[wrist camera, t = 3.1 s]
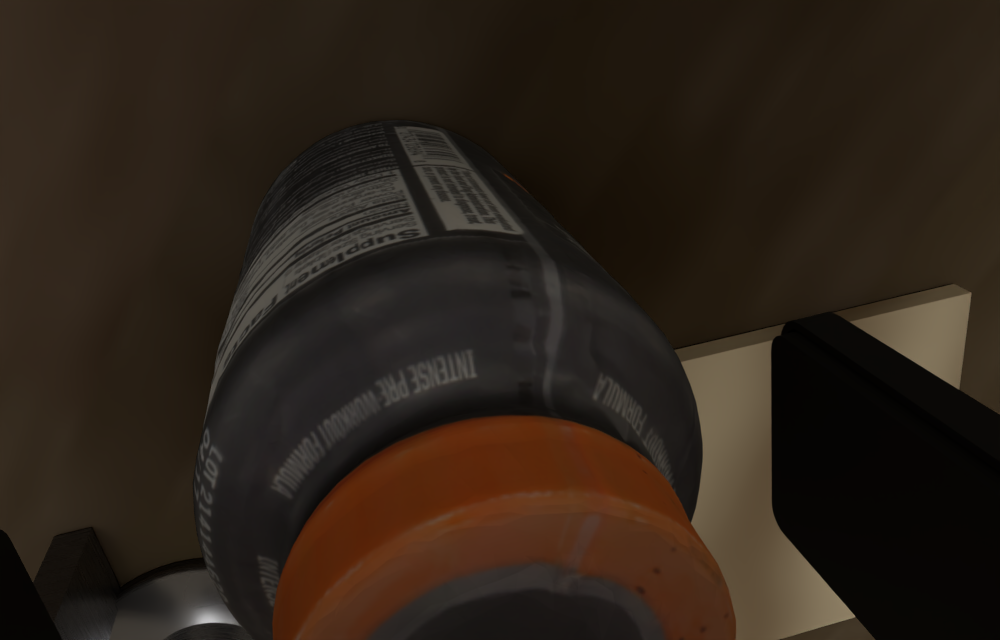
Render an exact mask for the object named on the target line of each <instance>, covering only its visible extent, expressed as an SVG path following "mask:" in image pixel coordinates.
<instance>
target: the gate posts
mask: <svg viewBox="0 0 1000 640" xmlns="http://www.w3.org/2000/svg"><path fill="white" fill-rule="evenodd" d="M33 584H34V586H35V588H36V590H37V592H38V594H39V596H40V598H41V600H42V602H43V603H44V605H45V607H46V609H47V611H48V613H49V615H50V617H51V619H52V621H53V623H54V625H55V627H56V629H57V631H58V632H59V634H60V636H61V638H62V640H254V639H253V638H252V637H251V636H250V635H249V634H248V633H247V632H246V630H245V629H244V628H243V627H242V626H241V625H240V624H239V623H238V622H237V620H236V619H235V618H234V617H233V615H232V614H231V613H230V611H229V610H228V608H227V606H226V605H225V603H224V602H223V600H222V598H221V596H220V594H219V592H218V590H217V588H216V586H215V584H214V583H213V581H212V579H211V577H210V575H209V572H208V570H207V567H206V564H205V561H204V558H203V559H193V560H188V561H183V562H178V563H174V564H170V565H167V566H164V567H161V568H158V569H155V570H153V571H151V572H148V573H146V574H143V575H141V576H140V577H138V578H136V579H134V580H133V581H131V582H129V583H127V584H126V585H125V586H123V587H122V588H121V589H120V587H119V585H118V582H117V580H116V578H115V576H114V574H113V572H112V570H111V568H110V565H109V563H108V561H107V559H106V557H105V555H104V553H103V551H102V549H101V546H100V544H99V542H98V540H97V538H96V536H95V534H94V532H93V529H92V528H88V529H84V530H80V531H76V532H71V533H67V534H63V535H59V536H55V537H54V538H53V540H52V543H51V545H50V547H49V549H48V551H47V553H46V556H45V558H44V560H43V562H42V564H41V567H40V569H39V571H38V573H37V575H36V577H35V580H34V582H33Z"/></svg>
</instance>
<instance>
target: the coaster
mask: <svg viewBox="0 0 1000 640" xmlns="http://www.w3.org/2000/svg"><path fill="white" fill-rule="evenodd" d="M970 301H971V292H969V291H967V290H965V289H963V288H961V287H959V286H957V285H955V284H951V285H947V286H943V287H938V288H934V289H930V290H926V291H922V292H917V293H913V294H909V295H905V296H900V297H896V298H892V299H888V300H884V301H879V302H875V303H871V304H867V305H862V306H858V307H854V308H850V309H845V310H841V311H837V312H833V313H835V314H837V315H839V316H841V317H842V318H844V319H845V320H847V321H849V322H850V323H852V324H854V325H855V326H857V327H858V328H860V329H862V330H863V331H865V332H866V333H868V334H870V335H871V336H873V337H875V338H876V339H878V340H879V341H881V342H883V343H884V344H886V345H887V346H889V347H891V348H892V349H894V350H896V351H897V352H899V353H900V354H902V355H904V356H905V357H907V358H909V359H910V360H912V361H913V362H915V363H917V364H918V365H920V366H921V367H923V368H925V369H926V370H928V371H930V372H931V373H933V374H934V375H936V376H938V377H939V378H941V379H942V380H944V381H946V382H947V383H949V384H951V385H952V386H954V387H955V388H957V389H959V386H960V379H961V371H962V363H963V355H964V348H965V340H966V332H967V324H968V316H969V309H970ZM784 325H785V324H782V325H778V326H774V327H769V328H765V329H761V330H757V331H752V332H748V333H744V334H740V335H736V336H731V337H727V338H723V339H719V340H714V341H710V342H706V343H702V344H698V345H693V346H689V347H685V348H681V349H676V350H674V351H675V352H676V354H677V356H678V357H679V359H680V361H681V363H682V366H683V368H684V370H685V373H686V375H687V378H688V380H689V382H690V385H691V388H692V391H693V394H694V397H695V400H696V404H697V409H698V415H699V420H700V426H701V434H702V442H703V462H702V471H701V480H700V488H699V494H698V499H697V505H696V509H695V512H694V515H693V518H692V522H691V524H692V526H693V527H694V529H695V531H696V532H697V534H698V535H699V537H700V538H701V540H702V541H703V543H704V544H705V546H706V547H707V549H708V550H709V551H710V553H711V554H712V556H713V557H714V559H715V560H716V562H717V563H718V565H719V568H720V570H721V572H722V575H723V577H724V579H725V582H726V584H727V586H728V588H729V592H730V596H731V601H732V605H733V609H734V613H735V617H736V638H735V640H779V639H782V638H785V637H789V636H792V635H796V634H799V633H803V632H806V631H809V630H813V629H816V628H820V627H823V626H827V625H830V624H833V623H837V622H840V621H844V620H847V619H851V618H854V617H855V615H854V614H853V613H852V612H851V611H850V610H849V608H848V607H847V606H846V605H845V604H844V603H843V602H842V600H841V599H840V598H839V597H838V596H837V595H836V594H835V592H834V591H833V590H832V589H831V588H830V587H829V585H828V584H827V583H826V582H825V581H824V580H823V579H822V577H821V576H820V575H819V574H818V573H817V572H816V571H815V569H814V568H813V567H812V566H811V565H810V564H809V563H808V561H807V560H806V559H805V558H804V557H803V556H802V554H801V553H800V552H799V551H798V550H797V549H796V548H795V546H794V545H793V544H792V543H791V542H790V541H789V540H788V538H787V537H786V536H785V535H784V534H783V532H782V531H781V530H780V528H779V526H778V524H777V522H776V520H775V517H774V514H773V510H772V450H771V345H772V341H773V339H774V338H775V337H776V336H779V335H781V331H782V329H783V326H784Z"/></svg>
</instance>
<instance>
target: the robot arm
mask: <svg viewBox="0 0 1000 640" xmlns="http://www.w3.org/2000/svg"><path fill="white" fill-rule="evenodd" d="M771 450H772V510H773V514H774V517H775V520H776V522H777V524H778V526H779V528H780V530H781V531H782V532H783V534H784V535H785V536H786V537H787V538H788V540H789V541H790V542H791V543H792V544H793V545H794V546H795V548H796V549H797V550H798V551H799V552H800V553H801V554H802V556H803V557H804V558H805V559H806V560H807V561H808V563H809V564H810V565H811V566H812V567H813V568H814V569H815V571H816V572H817V573H818V574H819V575H820V576H821V577H822V579H823V580H824V581H825V582H826V583H827V584H828V585H829V587H830V588H831V589H832V590H833V591H834V592H835V594H836V595H837V596H838V597H839V598H840V599H841V600H842V602H843V603H844V604H845V605H846V606H847V607H848V608H849V610H850V611H851V612H852V613H853V614H854V615H855V617H856V618H857V619H858V620H859V621H860V622H861V623H862V625H863V626H864V627H865V628H866V629H867V630H868V631H869V633H870V634H871V635H872V636H873V637H874V638H875V639H876V640H1000V415H999V414H997V413H996V412H994V411H993V410H991V409H989V408H988V407H986V406H985V405H983V404H981V403H980V402H978V401H976V400H975V399H973V398H972V397H970V396H968V395H967V394H965V393H964V392H962V391H960V390H959V389H957V388H955V387H954V386H952V385H951V384H949V383H947V382H946V381H944V380H942V379H941V378H939V377H938V376H936V375H934V374H933V373H931V372H930V371H928V370H926V369H925V368H923V367H921V366H920V365H918V364H917V363H915V362H913V361H912V360H910V359H909V358H907V357H905V356H904V355H902V354H900V353H899V352H897V351H896V350H894V349H892V348H891V347H889V346H887V345H886V344H884V343H883V342H881V341H879V340H878V339H876V338H875V337H873V336H871V335H870V334H868V333H866V332H865V331H863V330H862V329H860V328H858V327H857V326H855V325H854V324H852V323H850V322H849V321H847V320H845V319H844V318H842V317H841V316H839V315H837V314H835V313H832V312H827V313H822V314H818V315H814V316H810V317H806V318H802V319H798V320H794V321H790V322H787V323H786V324H785V325H784V326H783V329H782V331H781V335H779V336H776V337H775V338H774V339H773V341H772V345H771ZM0 640H62V638H61V636H60V634H59V632H58V631H57V629H56V627H55V625H54V623H53V621H52V619H51V617H50V615H49V613H48V611H47V609H46V607H45V605H44V603H43V602H42V600H41V598H40V596H39V594H38V592H37V590H36V588H35V586H34V584H33V582H32V580H31V578H30V576H29V574H28V573H27V571H26V569H25V567H24V565H23V563H22V561H21V559H20V557H19V555H18V553H17V551H16V549H15V547H14V546H13V544H12V542H11V540H10V538H9V537H8V535H7V534H6V533H5V532H4V531H3V530H0Z"/></svg>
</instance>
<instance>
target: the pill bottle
mask: <svg viewBox="0 0 1000 640" xmlns="http://www.w3.org/2000/svg"><path fill="white" fill-rule="evenodd" d="M702 462H703V442H702V434H701V426H700V420H699V415H698V409H697V404H696V400H695V397H694V394H693V391H692V388H691V385H690V382H689V380H688V378H687V375H686V373H685V370H684V368H683V366H682V363H681V361H680V359H679V357H678V356H677V354H676V352H675V351H674V349H673V348H672V346H671V344H670V343H669V341H668V340H667V338H666V336H665V335H664V333H663V332H662V331H661V330H660V329H659V327H658V326H657V325H656V324H655V323H654V321H653V320H652V319H651V318H650V317H649V316H648V314H647V313H646V312H645V311H644V310H643V309H642V308H641V307H640V306H639V305H638V304H637V303H636V302H635V301H634V299H633V298H632V297H631V296H630V294H629V293H628V292H627V291H626V290H625V289H624V288H623V287H622V286H621V285H620V284H619V283H618V282H617V281H616V280H615V279H614V278H613V277H611V276H610V275H609V274H608V273H607V272H606V271H605V270H604V269H603V267H602V266H601V265H600V264H599V263H598V262H597V261H595V260H594V259H593V258H592V257H591V256H590V255H589V254H588V253H587V251H586V250H585V249H584V248H583V247H582V246H581V245H580V244H579V243H578V242H577V241H576V240H575V239H574V238H573V237H572V235H571V234H570V233H569V232H568V231H567V230H566V229H564V228H563V226H561V225H560V224H559V223H558V222H557V221H556V220H555V219H554V217H553V216H552V215H551V214H550V213H549V212H548V211H547V210H546V208H545V207H543V206H542V205H541V204H540V203H539V202H538V201H537V200H535V199H534V197H533V196H532V195H531V194H530V193H529V192H528V191H527V190H526V189H525V188H524V187H523V186H522V185H521V184H520V183H519V182H518V181H517V180H516V179H515V178H514V177H513V176H512V175H511V174H510V173H509V172H508V171H507V170H506V169H505V168H504V167H503V166H502V165H501V164H500V163H499V162H498V161H497V160H496V159H495V158H494V157H492V156H491V155H490V154H489V153H488V152H486V151H485V150H484V149H483V148H481V147H480V146H478V145H476V144H475V143H473V142H471V141H470V140H468V139H466V138H464V137H462V136H460V135H458V134H456V133H454V132H452V131H449V130H446V129H443V128H440V127H437V126H433V125H430V124H427V123H422V122H414V121H406V120H391V121H375V122H369V123H364V124H360V125H356V126H352V127H349V128H346V129H344V130H341V131H339V132H336V133H333V134H331V135H329V136H327V137H325V138H323V139H321V140H320V141H318V142H317V143H315V144H313V145H312V146H311V147H309V148H308V149H307V150H306V151H304V152H303V153H302V154H301V155H299V156H298V157H297V158H296V159H294V160H293V161H292V162H291V163H290V164H289V165H288V166H287V167H286V168H285V169H284V170H283V171H282V172H281V173H280V175H279V176H278V177H277V178H276V180H275V181H274V182H273V184H272V185H271V187H270V189H269V190H268V192H267V194H266V195H265V197H264V199H263V201H262V203H261V205H260V207H259V210H258V212H257V215H256V218H255V221H254V224H253V226H252V231H251V235H250V239H249V242H248V246H247V249H246V253H245V256H244V262H243V267H242V269H241V272H240V279H239V282H238V286H237V288H236V291H235V294H234V299H233V303H232V306H231V309H230V312H229V317H228V319H227V323H226V326H225V329H224V332H223V335H222V338H221V341H220V344H219V348H218V353H217V357H216V362H215V370H214V377H213V380H212V384H211V390H210V395H209V401H208V406H207V411H206V416H205V421H204V425H203V431H202V436H201V440H200V445H199V449H198V454H197V458H196V465H195V472H194V479H193V497H194V514H195V522H196V530H197V536H198V540H199V544H200V548H201V552H202V555H203V558H204V561H205V564H206V567H207V570H208V572H209V575H210V577H211V579H212V581H213V583H214V584H215V586H216V588H217V590H218V592H219V594H220V596H221V598H222V600H223V602H224V603H225V605H226V606H227V608H228V610H229V611H230V613H231V614H232V615H233V617H234V618H235V619H236V620H237V622H238V623H239V624H240V625H241V626H242V627H243V628H244V629H245V630H246V632H247V633H248V634H249V635H250V636H251V637H252V638H253V639H254V640H735V638H736V617H735V613H734V609H733V605H732V601H731V596H730V592H729V588H728V586H727V584H726V582H725V579H724V577H723V575H722V572H721V570H720V568H719V565H718V563H717V562H716V560H715V559H714V557H713V556H712V554H711V553H710V551H709V550H708V549H707V547H706V546H705V544H704V543H703V541H702V540H701V538H700V537H699V535H698V534H697V532H696V531H695V529H694V527H693V526H692V524H691V522H692V518H693V515H694V512H695V509H696V505H697V499H698V494H699V488H700V480H701V471H702Z"/></svg>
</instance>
